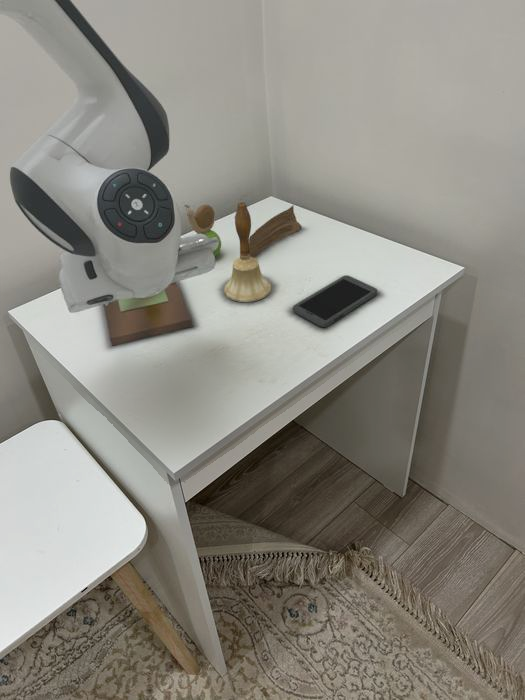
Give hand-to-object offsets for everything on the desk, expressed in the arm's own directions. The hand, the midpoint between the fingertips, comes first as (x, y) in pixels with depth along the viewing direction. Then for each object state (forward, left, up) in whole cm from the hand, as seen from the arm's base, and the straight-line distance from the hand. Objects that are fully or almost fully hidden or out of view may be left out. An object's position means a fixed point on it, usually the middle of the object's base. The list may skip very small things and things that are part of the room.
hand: (141, 289), depth 78 cm
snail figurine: (+14, +23, -11) cm, 29 cm away
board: (0, +9, -10) cm, 14 cm away
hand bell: (+18, +9, -11) cm, 23 cm away
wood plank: (+28, +23, -11) cm, 38 cm away
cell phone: (+31, 0, -10) cm, 32 cm away
